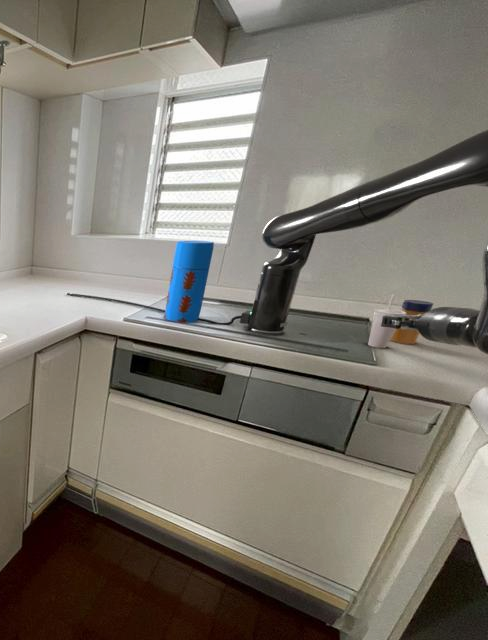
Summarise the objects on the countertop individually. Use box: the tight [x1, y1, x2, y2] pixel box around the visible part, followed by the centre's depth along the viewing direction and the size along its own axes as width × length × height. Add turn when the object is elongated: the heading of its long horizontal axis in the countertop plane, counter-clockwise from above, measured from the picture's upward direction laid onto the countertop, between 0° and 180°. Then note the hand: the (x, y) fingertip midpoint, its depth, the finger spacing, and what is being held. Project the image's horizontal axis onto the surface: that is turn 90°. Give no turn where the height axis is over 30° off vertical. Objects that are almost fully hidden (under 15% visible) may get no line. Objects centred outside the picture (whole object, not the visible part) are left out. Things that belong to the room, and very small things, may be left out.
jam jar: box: [390, 307, 427, 345], centre depth 111 cm, size 5×5×11 cm
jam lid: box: [401, 299, 434, 312], centre depth 109 cm, size 6×6×2 cm
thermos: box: [164, 240, 215, 324], centre depth 133 cm, size 11×11×25 cm
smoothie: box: [367, 293, 407, 349], centre depth 107 cm, size 6×6×14 cm
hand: (408, 320), depth 98 cm, fingers open, 8 cm apart
